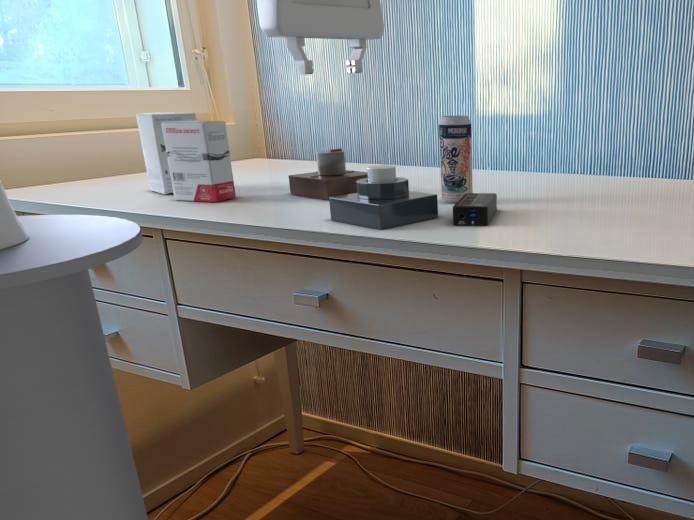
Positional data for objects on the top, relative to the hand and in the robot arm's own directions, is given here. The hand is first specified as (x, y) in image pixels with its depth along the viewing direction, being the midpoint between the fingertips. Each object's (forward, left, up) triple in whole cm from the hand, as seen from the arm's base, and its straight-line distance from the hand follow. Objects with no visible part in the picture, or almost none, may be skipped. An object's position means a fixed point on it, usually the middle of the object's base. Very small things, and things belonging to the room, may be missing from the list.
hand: (331, 73), depth 98 cm
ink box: (-12, +19, -18) cm, 29 cm away
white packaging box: (-10, +32, -18) cm, 38 cm away
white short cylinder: (-6, -17, -13) cm, 22 cm away
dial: (+4, +7, -15) cm, 17 cm away
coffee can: (+10, -15, -18) cm, 25 cm away
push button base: (-6, -17, -18) cm, 25 cm away
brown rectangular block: (+4, +7, -18) cm, 20 cm away
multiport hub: (+2, -26, -18) cm, 32 cm away
